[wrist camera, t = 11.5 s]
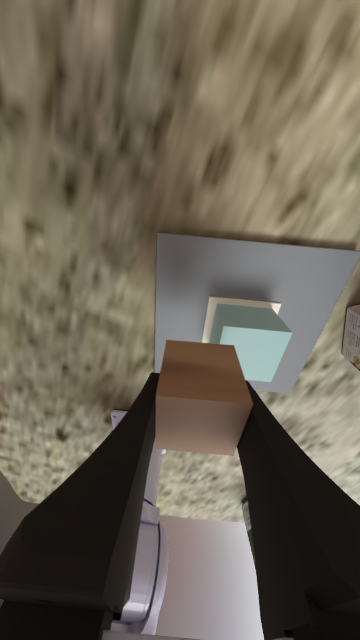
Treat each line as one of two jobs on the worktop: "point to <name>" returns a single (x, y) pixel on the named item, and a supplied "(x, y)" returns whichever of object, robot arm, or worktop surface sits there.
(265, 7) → the worktop surface
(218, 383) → the walnut cube
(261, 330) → the teal block
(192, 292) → the board
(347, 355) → the cookie box
